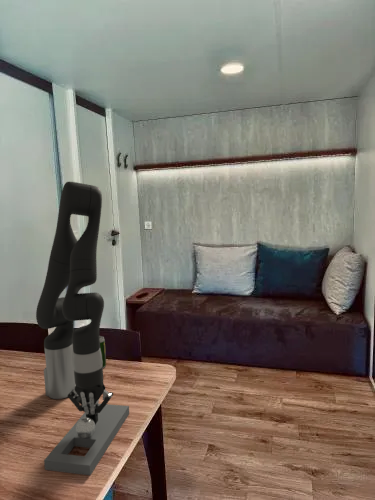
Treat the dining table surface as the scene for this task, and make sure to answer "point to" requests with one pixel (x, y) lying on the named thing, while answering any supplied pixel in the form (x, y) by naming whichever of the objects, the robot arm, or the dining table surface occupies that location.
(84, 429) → the steel ball
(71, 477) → the dining table surface
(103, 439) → the hole board
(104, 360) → the beer can
